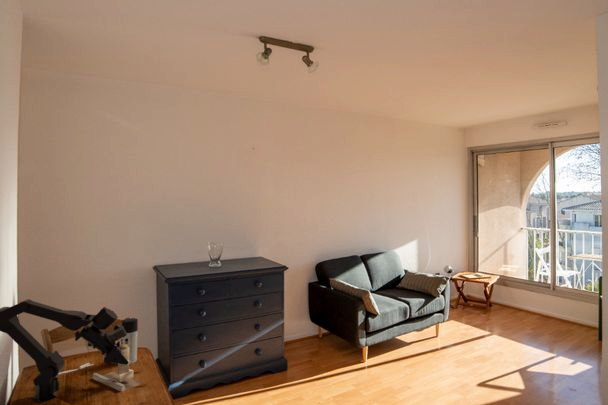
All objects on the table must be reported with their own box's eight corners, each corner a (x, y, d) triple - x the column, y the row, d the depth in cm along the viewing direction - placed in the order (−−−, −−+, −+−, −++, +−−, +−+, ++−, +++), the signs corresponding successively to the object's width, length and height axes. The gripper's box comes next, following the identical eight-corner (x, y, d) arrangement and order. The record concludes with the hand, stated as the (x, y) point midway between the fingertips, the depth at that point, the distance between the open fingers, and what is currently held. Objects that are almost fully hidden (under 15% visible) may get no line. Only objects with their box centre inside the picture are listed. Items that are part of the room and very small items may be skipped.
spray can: (120, 363, 176) (121, 318, 177) (136, 360, 179) (137, 317, 179) (120, 368, 170) (121, 322, 171) (137, 365, 173) (138, 320, 173)
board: (121, 395, 145) (121, 386, 145) (92, 382, 156) (92, 373, 156) (142, 386, 152) (143, 377, 153) (114, 374, 163) (114, 366, 163)
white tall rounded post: (120, 382, 149) (120, 348, 149) (112, 378, 152) (113, 346, 152) (133, 376, 154) (134, 344, 154) (126, 373, 156) (126, 342, 157)
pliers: (50, 373, 161) (84, 361, 175) (50, 377, 161) (84, 364, 175) (66, 378, 157) (99, 365, 171) (66, 382, 157) (99, 368, 171)
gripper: (114, 327, 143) (146, 352, 148) (112, 315, 159) (140, 338, 164) (89, 352, 139) (123, 377, 144) (89, 337, 155) (119, 360, 160)
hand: (127, 361), depth 153 cm, fingers closed on white tall rounded post, 4 cm apart
